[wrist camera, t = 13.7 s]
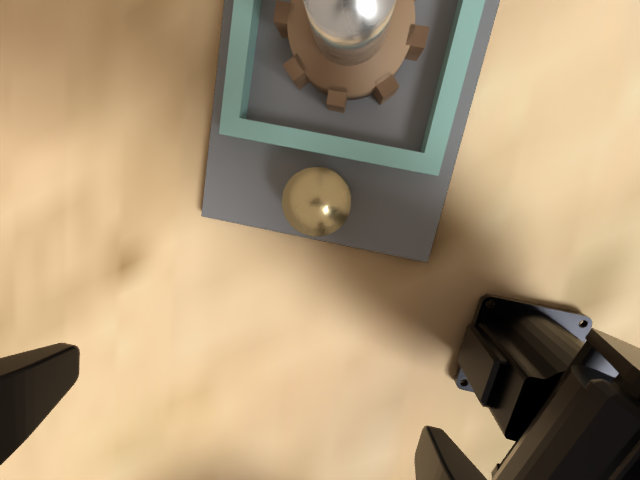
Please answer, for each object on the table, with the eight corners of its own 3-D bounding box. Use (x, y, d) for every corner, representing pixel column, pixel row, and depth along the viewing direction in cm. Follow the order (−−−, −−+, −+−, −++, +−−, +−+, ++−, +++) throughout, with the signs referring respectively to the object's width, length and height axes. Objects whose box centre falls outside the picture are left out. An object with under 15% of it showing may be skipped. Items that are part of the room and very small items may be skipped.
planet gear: (437, -28, 17) (484, -133, 11) (401, 124, 18) (425, 103, 12) (294, -51, 17) (265, -166, 11) (272, 99, 19) (236, 69, 13)
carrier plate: (520, -88, 16) (557, -143, 13) (425, 259, 20) (437, 275, 17) (243, -130, 17) (220, -191, 14) (205, 214, 21) (182, 222, 18)
